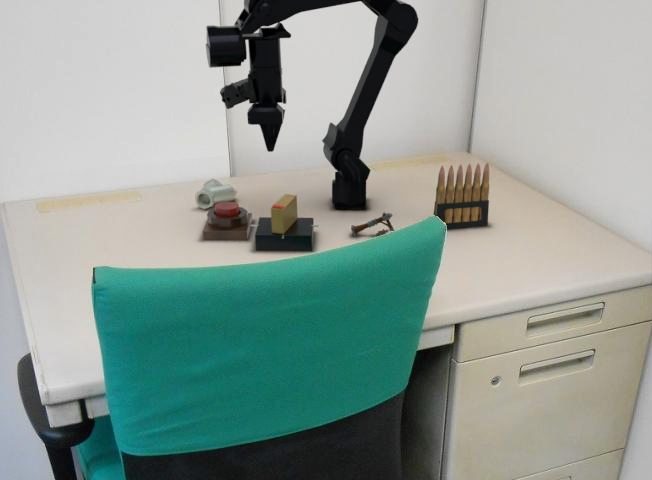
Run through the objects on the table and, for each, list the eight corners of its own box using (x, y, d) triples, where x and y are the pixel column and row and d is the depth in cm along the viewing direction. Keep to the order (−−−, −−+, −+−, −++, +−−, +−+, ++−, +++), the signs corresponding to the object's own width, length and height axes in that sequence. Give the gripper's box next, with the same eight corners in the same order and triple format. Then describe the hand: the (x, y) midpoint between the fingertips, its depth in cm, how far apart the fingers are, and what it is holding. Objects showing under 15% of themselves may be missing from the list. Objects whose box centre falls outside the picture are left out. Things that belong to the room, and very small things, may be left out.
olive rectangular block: (286, 217, 155) (285, 192, 152) (297, 218, 154) (296, 193, 152) (271, 232, 148) (270, 207, 145) (283, 234, 148) (282, 208, 145)
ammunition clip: (484, 222, 163) (490, 161, 156) (487, 226, 161) (493, 164, 155) (432, 226, 160) (435, 164, 154) (435, 230, 159) (439, 167, 152)
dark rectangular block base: (319, 230, 158) (319, 213, 156) (318, 254, 148) (317, 237, 146) (255, 229, 158) (254, 213, 156) (248, 254, 147) (247, 237, 146)
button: (240, 210, 157) (240, 201, 156) (238, 218, 154) (237, 209, 153) (217, 210, 157) (216, 201, 156) (214, 218, 153) (213, 209, 153)
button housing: (252, 221, 161) (251, 203, 159) (247, 240, 153) (246, 222, 151) (210, 220, 161) (209, 203, 159) (203, 240, 153) (201, 221, 151)
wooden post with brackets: (399, 233, 154) (390, 211, 152) (359, 248, 156) (350, 227, 154) (399, 230, 156) (390, 208, 154) (360, 245, 158) (351, 224, 156)
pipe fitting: (237, 199, 173) (205, 195, 173) (238, 181, 171) (205, 177, 171) (228, 212, 166) (195, 208, 166) (229, 193, 164) (195, 189, 164)
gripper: (226, 55, 159) (232, 138, 168) (215, 75, 144) (223, 166, 152) (284, 55, 160) (288, 137, 168) (280, 75, 144) (284, 165, 152)
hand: (270, 151), depth 160 cm, fingers closed
